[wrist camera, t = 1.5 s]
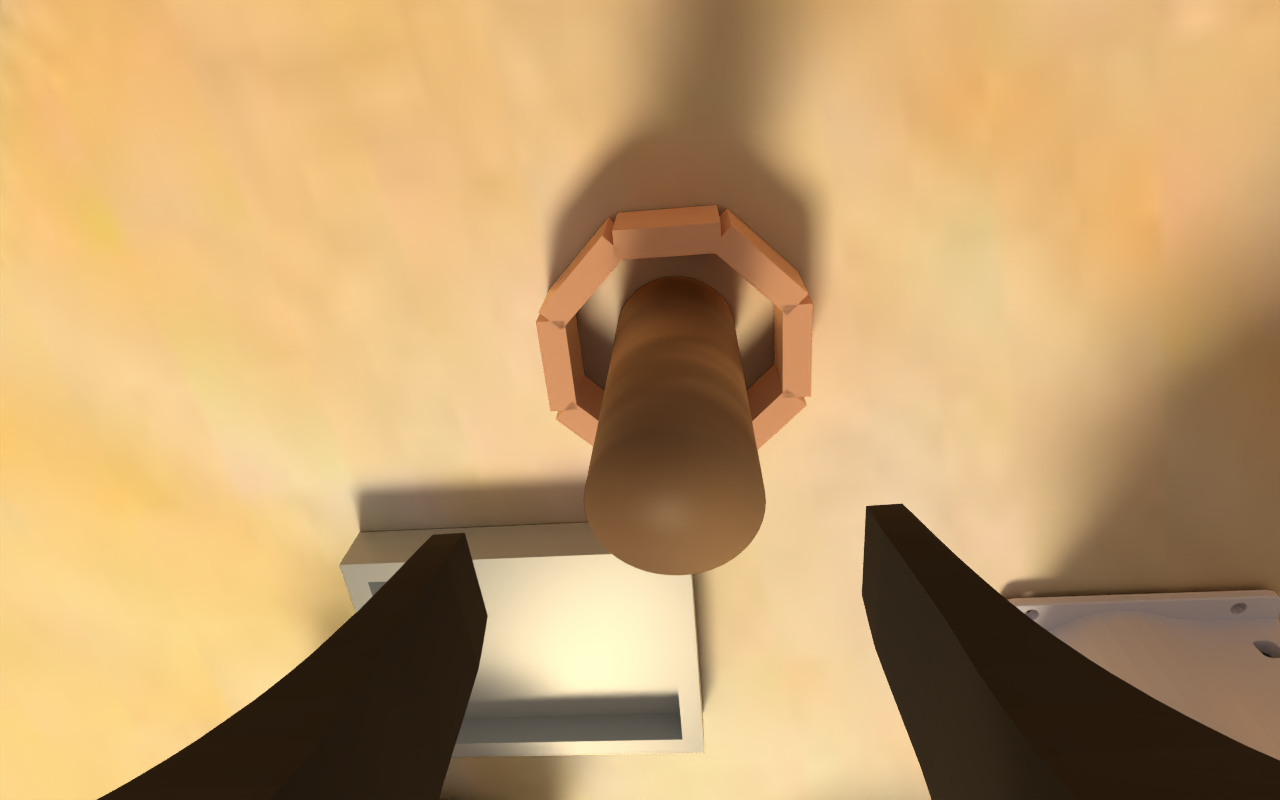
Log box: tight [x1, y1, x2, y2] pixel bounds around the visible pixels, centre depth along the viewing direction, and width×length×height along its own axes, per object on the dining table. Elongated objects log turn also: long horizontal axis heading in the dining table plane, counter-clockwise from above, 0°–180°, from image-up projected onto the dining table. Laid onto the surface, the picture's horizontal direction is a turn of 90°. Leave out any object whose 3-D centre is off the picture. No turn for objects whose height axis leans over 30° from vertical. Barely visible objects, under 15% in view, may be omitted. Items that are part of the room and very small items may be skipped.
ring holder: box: [536, 205, 813, 450], centre depth 22 cm, size 8×8×2 cm
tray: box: [339, 522, 704, 757], centre depth 28 cm, size 12×10×2 cm
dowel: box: [584, 276, 766, 575], centre depth 18 cm, size 4×4×9 cm
